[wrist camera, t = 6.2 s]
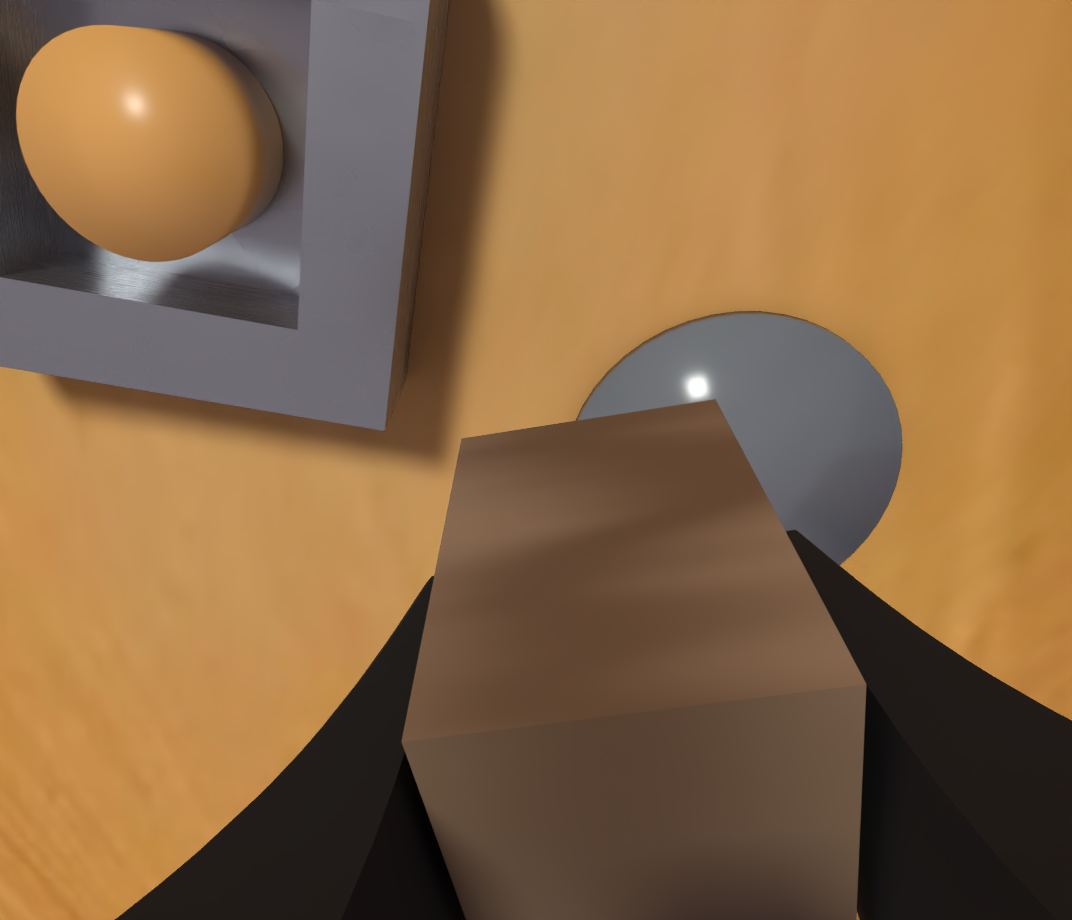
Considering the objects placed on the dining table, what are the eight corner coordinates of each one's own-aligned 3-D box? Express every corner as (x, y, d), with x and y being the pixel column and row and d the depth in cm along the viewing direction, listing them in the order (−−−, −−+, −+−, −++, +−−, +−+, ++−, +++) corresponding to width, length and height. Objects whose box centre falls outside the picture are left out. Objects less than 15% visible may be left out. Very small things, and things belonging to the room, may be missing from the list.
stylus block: (715, 398, 12) (866, 684, 6) (729, 602, 13) (854, 956, 8) (461, 439, 12) (401, 742, 7) (509, 631, 14) (492, 990, 8)
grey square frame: (461, -103, 15) (444, -139, 12) (405, 380, 19) (384, 431, 17) (-78, -228, 14) (-224, -296, 11) (1, 310, 19) (-88, 351, 16)
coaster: (953, 346, 19) (961, 351, 19) (824, 620, 23) (828, 629, 23) (606, 280, 18) (607, 284, 18) (536, 576, 22) (536, 584, 22)
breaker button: (286, 53, 15) (243, 51, 13) (281, 251, 17) (242, 279, 15) (81, 10, 15) (1, 1, 13) (97, 216, 17) (30, 240, 14)
